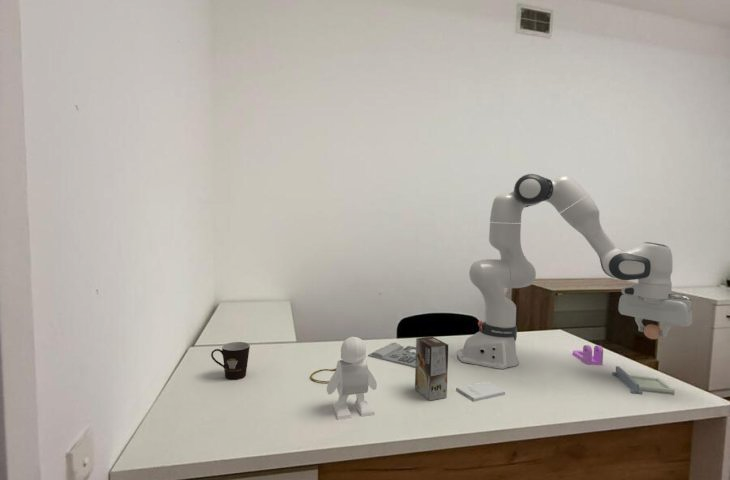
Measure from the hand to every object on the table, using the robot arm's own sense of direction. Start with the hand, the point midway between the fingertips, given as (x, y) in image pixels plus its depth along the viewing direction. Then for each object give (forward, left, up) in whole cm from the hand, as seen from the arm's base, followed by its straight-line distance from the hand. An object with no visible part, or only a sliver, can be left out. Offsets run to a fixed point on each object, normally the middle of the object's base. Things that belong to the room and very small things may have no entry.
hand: (652, 333), depth 126 cm
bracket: (-13, +23, -18) cm, 32 cm away
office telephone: (-82, +3, -19) cm, 84 cm away
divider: (-7, 0, -18) cm, 19 cm away
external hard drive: (-55, -22, -18) cm, 62 cm away
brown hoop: (-102, -24, -18) cm, 107 cm away
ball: (0, 0, -2) cm, 2 cm away
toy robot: (-90, -45, -18) cm, 102 cm away
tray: (0, 0, -18) cm, 18 cm away
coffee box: (-70, -28, -18) cm, 77 cm away
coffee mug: (-134, -35, -18) cm, 139 cm away
